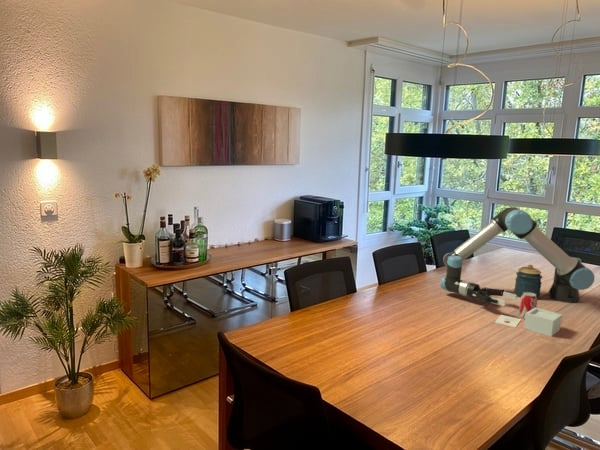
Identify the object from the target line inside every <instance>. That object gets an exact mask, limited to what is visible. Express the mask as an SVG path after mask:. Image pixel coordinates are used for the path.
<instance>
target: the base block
mask: <svg viewBox="0 0 600 450" xmlns="http://www.w3.org/2000/svg"><path fill="white" fill-rule="evenodd" d="M562 319H563V314H562V313H558V312H553V311H550V310H546V309H543V308H540V307H537V306H536V307H535V308H533V309H532V310H530V311H528V312H527V313H526V314H525V319H524V322H523V329H525V330H528V331H532V332H534V333H538V334H541V335H545V336H548V337H552V336H554V335H555V334H556V333H558V332H559V331H560V330H561V325H562Z"/></svg>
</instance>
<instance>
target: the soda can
mask: <svg viewBox="0 0 600 450" xmlns="http://www.w3.org/2000/svg"><path fill="white" fill-rule="evenodd" d="M537 305H538V299H537V297H536V294H534V293H531V292H523V295H522V296H521V297H520V301H519V309H518V310H519V312H518V315H519V317H520V318H522V319H523V320H525V314H526V313H527V312H528V311H530V310H532V309H533V308H535V307H536V308H537Z"/></svg>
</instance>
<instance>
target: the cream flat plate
mask: <svg viewBox="0 0 600 450" xmlns="http://www.w3.org/2000/svg"><path fill="white" fill-rule="evenodd" d="M521 320H522V319H520V318H517V317H513V316H508V315H503V314H500V316H498V318H497V319H496V320H495V321H494V323H495V324H498V325H503V326H508V327H511V328H517V326H518V324H520V323H521Z"/></svg>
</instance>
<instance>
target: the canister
mask: <svg viewBox="0 0 600 450" xmlns="http://www.w3.org/2000/svg"><path fill="white" fill-rule="evenodd" d="M515 274H516V277H515V279H514V280H515V284H514V288H513V289H514V290H513V292H514V293H513V294H515V295H517V297H519V298H521V296H522V295H523V292H531V293H534V294H536V297H537V300H538V299H539V298H540V296H541V290H542V289H541V287H542V278H543V276H542V275H541V274H542V272H541V270H539V268H537V267H534V266H533V265H532V264H528V265H527V266H523V267H522V266H521V267H520V268H518V271H517V272H516V273H515Z"/></svg>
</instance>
